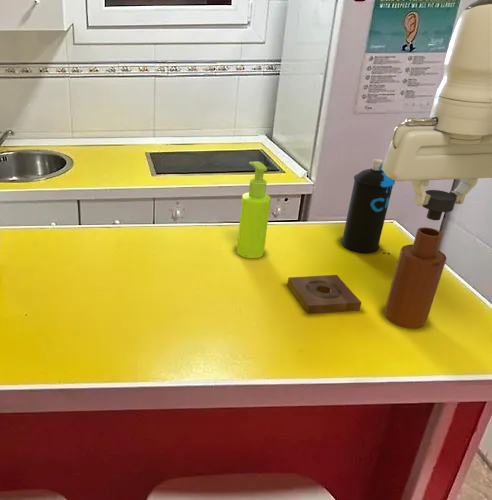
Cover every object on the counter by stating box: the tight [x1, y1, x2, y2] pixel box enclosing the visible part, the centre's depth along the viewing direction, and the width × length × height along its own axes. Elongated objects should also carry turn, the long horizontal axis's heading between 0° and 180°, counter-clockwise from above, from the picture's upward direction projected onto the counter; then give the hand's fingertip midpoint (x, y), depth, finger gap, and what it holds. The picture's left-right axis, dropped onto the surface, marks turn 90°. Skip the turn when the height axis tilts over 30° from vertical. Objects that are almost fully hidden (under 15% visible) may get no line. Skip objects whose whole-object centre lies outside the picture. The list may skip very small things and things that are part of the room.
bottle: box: [383, 227, 448, 329], centre depth 89 cm, size 7×7×17 cm
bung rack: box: [286, 274, 362, 315], centre depth 98 cm, size 10×10×2 cm
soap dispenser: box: [236, 160, 272, 259], centre depth 111 cm, size 6×7×20 cm
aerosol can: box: [340, 158, 396, 254], centre depth 114 cm, size 8×8×20 cm
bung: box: [422, 189, 456, 221], centre depth 83 cm, size 5×5×4 cm
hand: (437, 203), depth 83 cm, fingers closed on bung, 4 cm apart
